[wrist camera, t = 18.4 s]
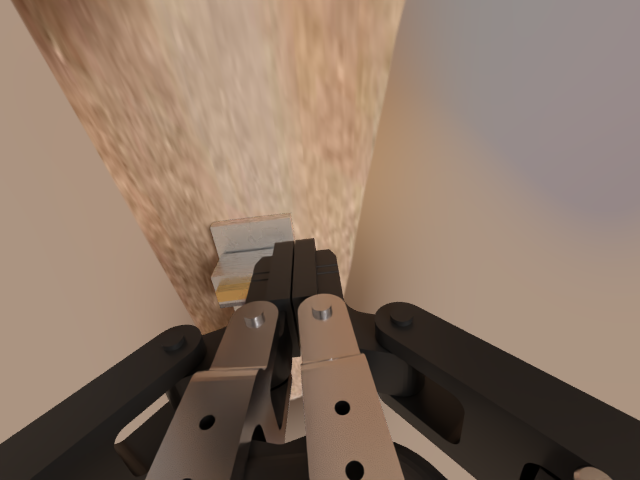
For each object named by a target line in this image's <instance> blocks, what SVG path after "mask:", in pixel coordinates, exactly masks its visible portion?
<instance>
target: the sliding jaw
mask: <svg viewBox="0 0 640 480" xmlns="http://www.w3.org/2000/svg"><path fill="white" fill-rule="evenodd" d="M272 255H273V249H265V250H257V251H249V252H240V253H232V254H223V255H221V257H220V259H219V261H218V263H217V265H216V267H215V269H214V271H213V273H212V275H211V280H212V283H213V286H214V289H215V292H216V296H217V299H218V302H219V305H220V308H225V307H234V306H243V305H245V301H246V297H247V293H248V290H249V286H250V282H251V278H252V275H253V270H254V266H255V264H256V263H257V262H258V261H259V260H260V259H261V258H262V257H265V256H272Z"/></svg>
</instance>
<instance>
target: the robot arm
mask: <svg viewBox="0 0 640 480" xmlns="http://www.w3.org/2000/svg"><path fill="white" fill-rule="evenodd" d="M300 356H302V364H301V379H302V391H303V404H304V417H305V429H306V436H304V437H301V438H298V439H296V440H293V441H291V442H288V443H285V434H286V426H287V418H288V410H289V402H290V394H291V386H292V374H291V369H292V357H300ZM377 392H378V394H377ZM164 393H166V395H167V397H168V399H169V402H168V403H166V404H165V405H164V406H163V407H162V408H160V409H159V410H158V411H157V412H156V413H155V414H154V415H152V416H151V417H150V418H149V419H148V420H147V421H146V422H145V423H143V424H142V425H141V426H140V427H139V428H138V429H136V430H135V431H134V432H133V433H132V434H130V435H129V436H128V437H127V438H126V439H125V440H123V441H122V442H120V443H117V444H114V442H115V439H116V437H117V435H118V434H119V432H120V431H121V430H122V429H123V428H124V427H125V426H126V425H127V424H129V422H131V421H132V420H133V419H135V417H137V416H138V415H139V414H140V413H142V412H143V411H144V410H145V409H146V408H147V407H149V406H150V405H151V404H152V403H154V402H155V401H156V400H157V399H158V398H159V397H161V396H162V395H163V394H164ZM378 395H379V396H380V398H381V399H382V401H383V402H384V403H385V404H387V405H388V406H389V407H390V408H391V409H393V410H394V411H395V412H396V413H397V414H399V415H400V416H401V417H402V418H403V419H405V420H406V421H407V422H408V423H409V424H411V425H412V426H413V427H414V428H415V429H417V430H418V431H419V432H420V433H421V434H423V435H424V436H425V437H426V438H427V439H429V440H430V441H431V442H432V443H434V444H435V445H436V446H437V447H438V448H440V449H441V450H442V451H443V452H444V453H446V454H447V455H448V456H449V457H450V458H452V459H453V460H454V461H455V462H456V463H458V464H459V465H460V466H461V467H462V468H464V469H465V470H466V471H467V472H468V473H470V474H471V475H472V476H473V477H475V478H476V479H477V480H640V421H639V420H637V419H635V418H633V417H631V416H629V415H627V414H625V413H624V412H622V411H620V410H618V409H616V408H614V407H612V406H610V405H608V404H606V403H604V402H602V401H600V400H598V399H596V398H595V397H592V396H591V395H589V394H587V393H585V392H583V391H581V390H579V389H577V388H575V387H573V386H571V385H569V384H567V383H565V382H563V381H561V380H559V379H558V378H556V377H554V376H552V375H550V374H548V373H546V372H544V371H542V370H540V369H538V368H536V367H534V366H532V365H530V364H528V363H526V362H524V361H523V360H521V359H519V358H517V357H515V356H513V355H511V354H509V353H507V352H505V351H503V350H501V349H499V348H497V347H495V346H493V345H491V344H489V343H488V342H485V341H483V340H482V339H480V338H478V337H476V336H474V335H472V334H470V333H468V332H466V331H464V330H462V329H460V328H458V327H456V326H454V325H452V324H450V323H449V322H447V321H445V320H443V319H441V318H439V317H437V316H435V315H433V314H431V313H429V312H427V311H425V310H423V309H421V308H419V307H417V306H415V305H413V304H410V303H405V302H393V303H389V304H386V305H384V306H382V307H381V308H380V309H378V311H377V312H376V314H368V313H362V312H358V311H356V310H354V309H352V308H350V307H349V306H348V305H347V304H346V303H345V301H344V299H343V294H342V288H341V282H340V276H339V270H338V265H337V259H336V255H335V254H334V253H333V252H332V251H330V250H329V249H327V250H318V251H316V248H315V240H314V238H311V239H302V240H295V242H294V241H285V242H276V243H275V244H274V249H273V255H272V256H265V257H262V258H261V259H260V260H259V261H258V262H257V263H256V264H255V266H254V270H253V275H252V278H251V282H250V286H249V290H248V293H247V297H246V301H245V305H243V306H241V307H240V308H238V309H237V310H236V311H235V312H234V313H233V314H232V316H231V318H230V321H229V323H228V326H226V327H224V328H222V329H219V330H217V331H214V332H211V333H208V334H205V335H202V334H201V332H200V330H199V329H198V328H197V327H195V326H192V325H180V326H176V327H173V328H170V329H168V330H166V331H164V332H162V333H161V334H159V335H158V336H156V337H155V338H154V339H152V340H151V341H149V342H148V343H146V344H145V345H143V346H142V347H140V348H139V349H138V350H136V351H135V352H133V353H132V354H130V355H129V356H127V357H126V358H125V359H123V360H122V361H120V362H119V363H117V364H116V365H114V366H113V367H111V368H110V369H109V370H107V371H106V372H104V373H103V374H101V375H100V376H99V377H97V378H96V379H94V380H93V381H91V382H90V383H88V384H87V385H85V386H84V387H82V388H81V389H80V390H78V391H77V392H75V393H74V394H72V395H71V396H69V397H68V398H67V399H65V400H64V401H62V402H61V403H59V404H58V405H56V406H55V407H54V408H52V409H51V410H49V411H48V412H46V413H45V414H43V415H42V416H40V417H39V418H38V419H36V420H35V421H33V422H32V423H30V424H29V425H27V426H26V427H25V428H23V429H22V430H20V431H19V432H17V433H16V434H14V435H13V436H12V437H10V438H9V439H7V440H6V441H4V442H3V443H1V444H0V480H447V479H446V478H445V477H444V476H443V475H442V474H441V473H440V472H439V471H438V470H437V469H436V468H435V467H434V466H432V465H431V464H430V463H429V462H428V461H426V460H425V459H424V458H422V457H421V456H420V455H418V454H417V453H415V452H413V451H412V450H410V449H408V448H407V447H404V446H402V445H400V444H397V443H395V442H393V441H392V438H391V435H390V432H389V429H388V425H387V422H386V419H385V416H384V413H383V409H382V406H381V403H380V400H379V397H378Z"/></svg>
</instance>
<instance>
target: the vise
mask: <svg viewBox="0 0 640 480" xmlns="http://www.w3.org/2000/svg"><path fill="white" fill-rule="evenodd" d="M210 229H211V232H212V236H213V239H214V242H215V246H216V249H217V253H218V256H219V259H220V257H221V255H223V254H232V253H240V252H249V251H257V250H265V249H274V244H275V243H276V242H285V241H294V242H295V236H294V230H293V224H292V218H291V213H284V214H276V215H268V216H259V217H251V218H243V219H234V220H226V221H218V222H213V224H212V225H211V227H210ZM240 307H241V306H234V310H235V311H236V310H237V309H238V308H240Z"/></svg>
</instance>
